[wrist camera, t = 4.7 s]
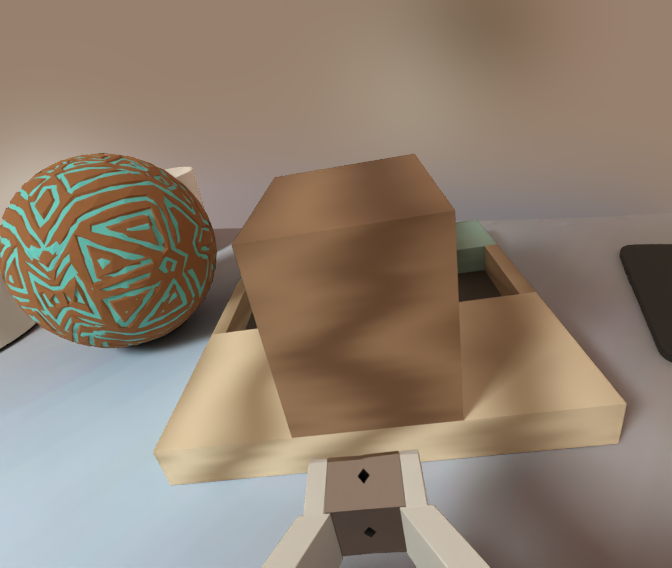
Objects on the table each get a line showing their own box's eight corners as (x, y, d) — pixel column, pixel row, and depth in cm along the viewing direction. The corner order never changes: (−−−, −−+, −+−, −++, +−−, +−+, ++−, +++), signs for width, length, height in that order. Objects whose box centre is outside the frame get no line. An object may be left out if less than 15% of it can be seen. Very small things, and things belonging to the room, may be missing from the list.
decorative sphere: (253, 278, 42) (206, 124, 36) (210, 377, 29) (123, 161, 22) (116, 298, 44) (46, 154, 37) (16, 400, 31) (-122, 205, 24)
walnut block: (291, 438, 20) (231, 244, 15) (309, 321, 29) (274, 177, 24) (463, 420, 19) (455, 210, 14) (427, 306, 28) (414, 153, 23)
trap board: (170, 485, 22) (152, 452, 20) (258, 275, 43) (252, 253, 42) (618, 443, 19) (626, 403, 18) (477, 243, 40) (477, 219, 39)
